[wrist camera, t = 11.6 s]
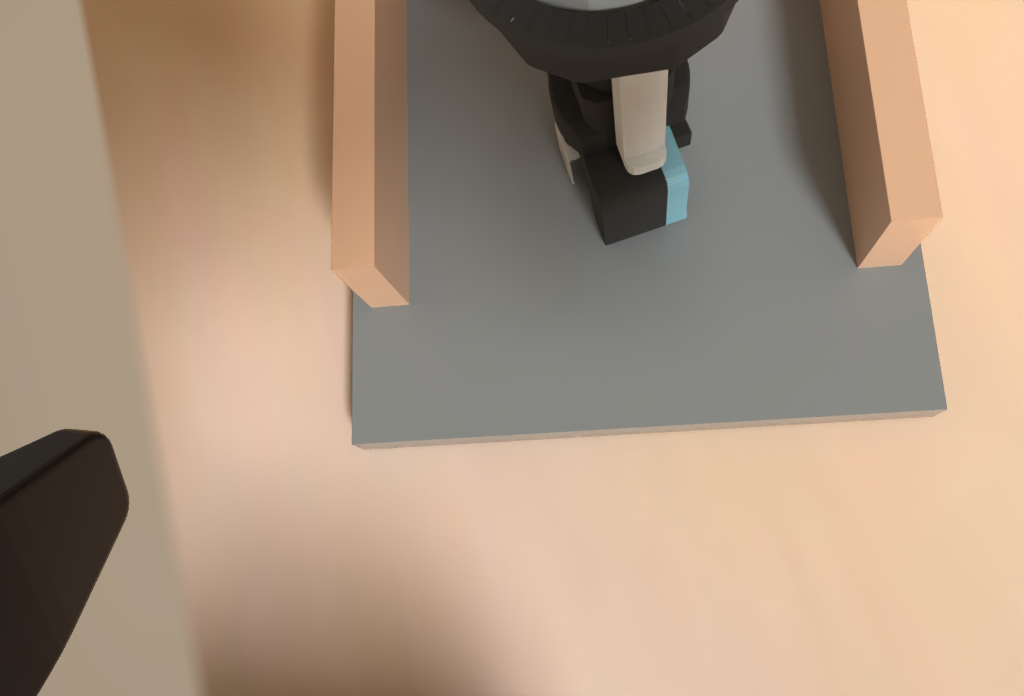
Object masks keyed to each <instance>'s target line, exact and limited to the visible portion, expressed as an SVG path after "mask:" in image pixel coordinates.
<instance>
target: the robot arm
mask: <svg viewBox="0 0 1024 696" xmlns="http://www.w3.org/2000/svg"><path fill="white" fill-rule="evenodd" d="M128 509H129V496H128V491H127V488H126V485H125V482H124V479H123V476H122V473H121V470H120V467H119V464H118V462H117V458H116V456H115V453H114V450H113V447H112V444H111V442H110V440H109V439H108V438H107V437H106V436H105V435H104V434H102V433H100V432H97V431H88V430H77V429H63V430H59V431H56V432H54V433H52V434H50V435H47V436H45V437H43V438H41V439H39V440H36V441H34V442H32V443H30V444H28V445H25V446H23V447H21V448H19V449H17V450H14V451H12V452H10V453H8V454H6V455H3V456H1V457H0V696H37V695H38V693H39V691H40V690H41V688H42V686H43V685H44V683H45V681H46V680H47V678H48V676H49V675H50V673H51V671H52V669H53V668H54V666H55V664H56V662H57V661H58V659H59V657H60V655H61V653H62V652H63V649H64V648H65V646H66V644H67V641H68V640H69V638H70V636H71V634H72V632H73V630H74V628H75V625H76V624H77V621H78V619H79V617H80V615H81V613H82V611H83V609H84V607H85V605H86V602H87V600H88V598H89V596H90V594H91V592H92V590H93V587H94V585H95V583H96V581H97V579H98V577H99V575H100V573H101V570H102V569H103V566H104V564H105V562H106V560H107V558H108V556H109V554H110V552H111V550H112V547H113V545H114V543H115V541H116V539H117V537H118V535H119V532H120V531H121V528H122V526H123V524H124V522H125V520H126V517H127V513H128Z"/></svg>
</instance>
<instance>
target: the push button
mask: <svg viewBox="0 0 1024 696" xmlns="http://www.w3.org/2000/svg"><path fill="white" fill-rule="evenodd" d="M469 1H470V2H471V3H472V5H473V6H474V7H475V9H476V10H477V11H478V12H479V13H480V14H481V15H482V16H483V17H484V18H485V19H486V20H487V21H488V22H489V23H490V24H492V25H493V26H494V27H495V28H497V29H498V30H499V31H500V32H501V33H502V35H503V36H504V37H505V38H506V39H507V41H508V42H509V43H510V44H511V45H512V47H513V48H514V49H515V50H516V51H517V53H518V54H519V55H520V56H521V57H522V59H523V60H524V61H525V62H526V63H527V64H528V65H530V66H531V67H533V68H536V69H539V70H542V71H545V72H547V75H548V86H549V94H550V99H551V104H552V109H553V114H554V117H555V121H556V122H555V127H556V133H557V138H558V143H559V148H560V151H561V154H562V157H563V160H564V163H565V166H566V169H567V171H568V174H569V177H570V180H571V182H572V184H575V179H574V174H573V169H572V164H571V162H572V161H574V160H576V159H579V158H581V161H582V164H583V167H584V170H585V174H586V178H587V183H588V187H589V192H590V197H591V201H592V206H593V211H594V215H595V218H596V221H597V224H598V227H599V230H600V233H601V236H602V238H603V241H604V243H605V245H606V246H607V245H610V244H613V243H616V242H618V241H622V240H624V239H627V238H630V237H633V236H636V235H639V234H642V233H645V232H648V231H651V230H654V229H657V228H660V227H663V226H666V225H668V224H671V223H674V222H677V221H680V220H683V219H686V218H687V210H686V208H687V199H688V190H689V177H688V173H687V170H686V167H685V164H684V161H683V159H682V156H681V154H680V151H679V148H682V147H685V146H688V145H690V144H691V137H692V131H691V129H690V126H689V124H688V120H687V117H686V114H687V110H688V101H689V90H690V68H689V63H688V60H687V59H689V58H690V57H692V56H693V55H694V54H696V53H697V52H699V51H700V50H701V49H703V48H704V47H705V46H707V45H708V44H710V43H711V42H712V41H714V40H715V39H717V38H718V37H719V36H720V35H721V34H722V32H723V30H724V28H725V26H726V24H727V22H728V19H729V17H730V15H731V13H732V11H733V9H734V6H735V4H736V3H737V2H738V1H739V0H469Z"/></svg>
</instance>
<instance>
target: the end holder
mask: <svg viewBox="0 0 1024 696" xmlns="http://www.w3.org/2000/svg"><path fill="white" fill-rule="evenodd" d="M687 60H688V63H689V68H690V90H689V101H688V110H687V114H686V117H687V120H688V124H689V126H690V129H691V131H692V137H691V144H690V145H688V146H685V147H682V148H679V151H680V154H681V156H682V159H683V161H684V164H685V167H686V170H687V173H688V177H689V190H688V199H687V208H686V210H687V218H686V219H683V220H680V221H677V222H674V223H671V224H668V225H666V226H663V227H660V228H657V229H654V230H651V231H648V232H645V233H642V234H639V235H636V236H633V237H630V238H627V239H624V240H622V241H618V242H616V243H613V244H610V245H607V246H606V245H605V243H604V241H603V238H602V236H601V233H600V230H599V227H598V224H597V221H596V218H595V215H594V211H593V206H592V201H591V197H590V192H589V187H588V183H587V178H586V174H585V170H584V167H583V164H582V161H581V158H579V159H576V160H574V161H572V162H571V164H572V169H573V174H574V179H575V184H572V182H571V180H570V177H569V174H568V171H567V169H566V166H565V163H564V160H563V157H562V154H561V151H560V148H559V143H558V138H557V133H556V127H555V122H556V121H555V117H554V114H553V109H552V104H551V99H550V94H549V86H548V75H547V72H545V71H542V70H539V69H536V68H533V67H531V66H530V65H528V64H527V63H526V62H525V61H524V60H523V59H522V57H521V56H520V55H519V54H518V53H517V51H516V50H515V49H514V48H513V47H512V45H511V44H510V43H509V42H508V41H507V39H506V38H505V37H504V36H503V35H502V33H501V32H500V31H499V30H498V29H497V28H495V27H494V26H493V25H492V24H490V23H489V22H488V21H487V20H486V19H485V18H484V17H483V16H482V15H481V14H480V13H479V12H478V11H477V10H476V9H475V7H474V6H473V5H472V3H471V2H470V1H469V0H335V30H334V101H333V171H332V242H331V271H332V272H334V273H335V274H336V275H337V276H338V277H339V278H340V279H341V280H342V281H343V282H344V283H345V284H347V285H348V286H349V287H350V288H351V289H352V290H353V356H352V445H355V446H357V447H360V448H362V449H380V448H397V447H414V446H431V445H449V444H466V443H483V442H500V441H518V440H535V439H552V438H569V437H586V436H604V435H621V434H638V433H655V432H673V431H690V430H707V429H724V428H741V427H759V426H776V425H793V424H810V423H827V422H845V421H862V420H879V419H896V418H914V417H931V416H935V415H937V414H939V413H941V412H943V411H945V410H947V405H946V398H945V392H944V386H943V380H942V374H941V367H940V361H939V355H938V349H937V343H936V336H935V330H934V324H933V318H932V312H931V305H930V299H929V293H928V287H927V281H926V274H925V268H924V262H923V256H922V250H921V242H922V241H923V239H924V238H925V237H926V236H927V235H928V234H929V232H930V231H931V230H932V229H933V228H934V227H935V225H936V224H937V223H938V222H939V221H940V220H941V219H942V217H943V215H942V209H941V203H940V197H939V191H938V185H937V179H936V173H935V167H934V161H933V155H932V149H931V144H930V138H929V132H928V126H927V120H926V114H925V108H924V102H923V96H922V90H921V84H920V79H919V73H918V67H917V61H916V55H915V49H914V43H913V37H912V31H911V25H910V19H909V13H908V8H907V2H906V0H739V1H738V2H737V3H736V4H735V6H734V9H733V11H732V13H731V15H730V17H729V19H728V22H727V24H726V26H725V28H724V30H723V32H722V34H721V35H720V36H719V37H718V38H717V39H715V40H714V41H712V42H711V43H710V44H708V45H707V46H705V47H704V48H703V49H701V50H700V51H699V52H697V53H696V54H694V55H693V56H692V57H690V58H689V59H687Z"/></svg>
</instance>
